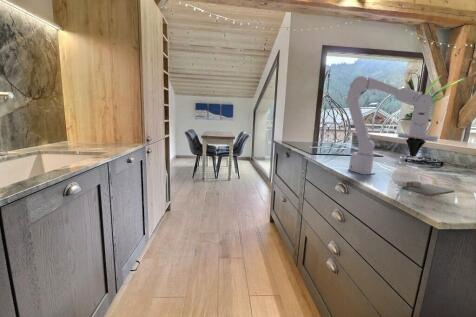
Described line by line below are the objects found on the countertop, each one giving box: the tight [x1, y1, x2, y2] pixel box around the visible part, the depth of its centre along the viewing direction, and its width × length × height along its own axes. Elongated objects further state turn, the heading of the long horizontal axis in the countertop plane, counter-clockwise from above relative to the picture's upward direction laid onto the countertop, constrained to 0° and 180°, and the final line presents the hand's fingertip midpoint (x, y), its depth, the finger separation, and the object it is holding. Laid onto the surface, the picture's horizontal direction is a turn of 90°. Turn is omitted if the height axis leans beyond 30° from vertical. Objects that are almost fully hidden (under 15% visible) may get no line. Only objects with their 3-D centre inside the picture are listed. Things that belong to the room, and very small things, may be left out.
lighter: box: [401, 179, 423, 187], centre depth 94 cm, size 7×2×8 cm
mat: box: [401, 183, 455, 196], centre depth 91 cm, size 9×16×1 cm, turn 114°
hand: (412, 156), depth 103 cm, fingers closed
